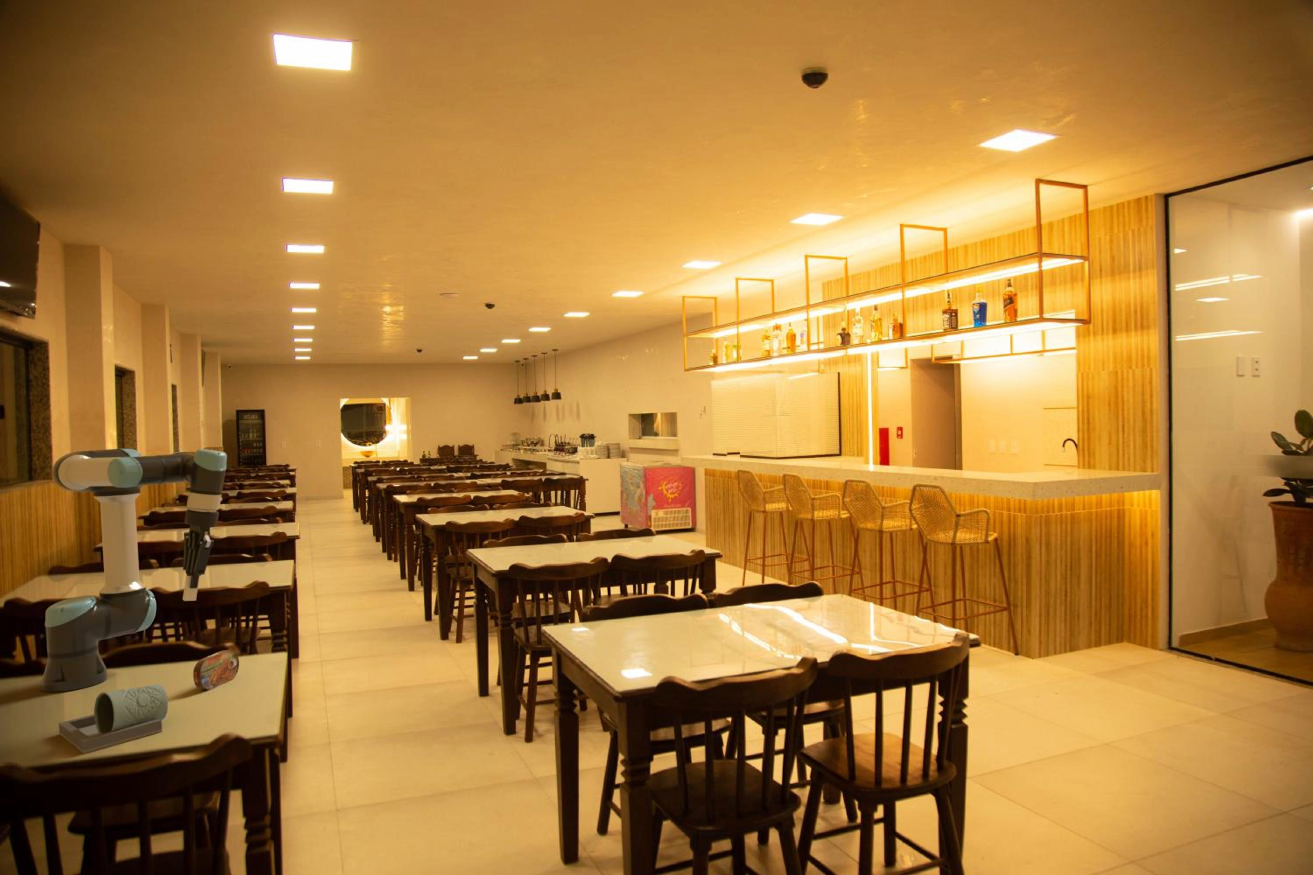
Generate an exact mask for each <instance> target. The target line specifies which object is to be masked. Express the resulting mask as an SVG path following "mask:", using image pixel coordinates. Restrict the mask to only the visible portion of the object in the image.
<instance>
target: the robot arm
mask: <svg viewBox="0 0 1313 875" xmlns="http://www.w3.org/2000/svg"><path fill="white" fill-rule="evenodd" d="M227 459H228V455H227V453H226V452H224V451H220V450H214V449H213V450H212V449H205V448H200V449H196V451H195V453H191V452H187V451H175V452H171V453H170V454H158V455H142V454H141V452H139V451H138V450H136V449H132V448H112V449H111V448H109V449H97V450H79V451H78V450H77V451H74V452H70V453H66V454H65V455H63V456H62V457H60V458H58V459H57V460H56V461H55V462H54V464H53V466H52V469H51V476H52V479H53V481H54V483H55V484H56V485H57V486H58V487H59V488H61V489H63V490H65V491H69V492H75V493H86V492H88V493H89V492H93V495H92V496H93V498H94V499H95V500H96V501H98V502H99V503H100V504H99V505H100V506H99V508H100V521H101V522H100V524H101V537H102V540H101V541H102V555H103V557H102V558H103V570H104V571H103V572H104V585H103V586H102V588H101V589H100V590H99V591H98V594H99V595H98V596H99V597H98V598H97V599H96V597H95V596H94V595H82V596H78V597H76V596H75V597H70V598H67V599H64V600H60V601H58V602H56V603H54V604H52V605H50V606H49V607H48V608H46V610H45V622H44V626H45V637H46V651H47V662H46V666H45V669H44V671H43V672H44V673H43V676H42V679H41V690H42V691H43V692H49V693H56V692H57V693H58V692H59V693H60V692H69V691H74V690H75V691H76V690H80V689H85V688H88V687H91V686H95V685H98V684H100V683H102V682H104V681H106V680H107V679H108V671H107V670H108V669H107V667H106V664H105V663H104V661H103V658H102V657H101V654H100V652H99V641H102V640H107V639H111V638H115V637H121V636H123V635H132V634H135V633H137V632H141V631H145V630H147V629H149V627H150V626H151V625H152V623H153V621H154V619H155V617H156V612H157V601H156V599H155V595H154V593H153V592H152V591H151V590H147V585H146V584H144V583H143V582H142V581H141V580H140V568H139V567H140V566H139V549H138V531H137V530H138V529H137V516H136V515H137V513H136V499H137V498H139V496H140V495H141V488H144V487H145V486H152V485H153V486H155V485H164V484H165V485H167V484H168V485H169V484H175V483H177V484H178V483H188V484H189V489H188V490H189V491H188V495H187V501H186V502H187V503H186V506H187V509H186V511H185V517H184V523H185V524H187V525H189V529H188V530H189V531H185V532H184V533H183V539H184V544H183V546H184V547H183V562H182V570H183V571H184V572H185V574H186V575H185V581H184V588H183V594H182V600H183V601H184V602H189V601H190V602H191V601H192V602H193V601H197V596H198V595H197V594H198V589H199V583H200V577H201V576H202V575H203V576H204V575H205V573H206V571H207V567H208V562H209V558H210V554H211V551H212V548H213V546H214V543H215V540H214V539H211V528H212V527H215V526H217V525H218V522H219V516H220V513H219V511H218V510H220V508H221V507H220V506H221V502H222V501H223V497H222V494H223V488H224V482H225V477H226V470H227V461H228V460H227Z"/></svg>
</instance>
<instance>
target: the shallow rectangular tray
mask: <svg viewBox="0 0 1313 875" xmlns="http://www.w3.org/2000/svg"><path fill="white" fill-rule="evenodd" d="M162 721H163V720H160V719H157V720H153V721H150V722H146V723H142V724H138V725H135V726H131V727H127V728H123V729H120V730H116V731H112V732H108V733H105V734H101V735H100V733H99V732H98V730H97V727H96V724H95V718H94V713H93V714H90V715H86V716H82V717H81V716H80V717H77V718H73V719H69V720H66V721H62V722H59V723H58V731H59V732H58V733H59V734H58V735H60V736H61V737H62V738H64V739H65V740H66V741H67V742H69V743H70V744H71V745H72V746H74V747H75V748H76V749H78V750H79V752H81V753H82V754H87V753H90V752H94V751H97V750H102V749H105V748H108V747H111V746H115V745H119V744H122V743H125V741H126V742H129V741H133V739H134V740H137V739H140V738H143V737H148V736H151V735H150V734H152V735H154V734H159V733H161V732H163V723H162ZM158 732H159V733H158ZM147 735H148V736H147ZM136 738H137V739H136Z"/></svg>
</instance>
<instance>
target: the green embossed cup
mask: <svg viewBox="0 0 1313 875" xmlns="http://www.w3.org/2000/svg"><path fill="white" fill-rule="evenodd" d="M93 707H94V708H93V709H94V710H93V714H94V718H95V724H96V727H97V730H98V732H99V733H100V735H101V734H105V733H108V732H112V731H116V730H120V729H123V728H127V727H131V726H135V725H138V724H142V723H146V722H150V721H153V720H157V719H160V720H161V721H163V720H164V719H165V718H166V717H167V714H168V710H169V709H168V708H169V699H168V693H167V691H166V688H165V687H164V686H163V685H162V684H158V683H156V684H150V685H145V686H144V685H143V686H138V687H131V688H124V689H123V688H122V689H115V690H108V691H102V692H100V693H99V694H98V695H97V696H96V698H95V702H94V706H93Z"/></svg>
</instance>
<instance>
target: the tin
mask: <svg viewBox="0 0 1313 875" xmlns="http://www.w3.org/2000/svg"><path fill="white" fill-rule="evenodd" d="M239 668H240V660H239V656H238V654H237V653H236V651H234V650H232V649H227V650H221V651H218V652H215V653H213V654H211V655H208V656H206V657H204V658H201V659H199V660H198V661H197V662H196V663H195V666H194V668H193V671H192V675H193V682H194V685H195V686H196V688H198V689H200V690H213V689H215V688H217V686H218V685H220V686H221V684H222V685H223V683H224V684H226V683H228V682H230V681H232V680H233V679H234V678H235V677H236V676H237V674H238V672H239ZM225 682H226V683H225ZM218 687H219V686H218Z"/></svg>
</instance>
